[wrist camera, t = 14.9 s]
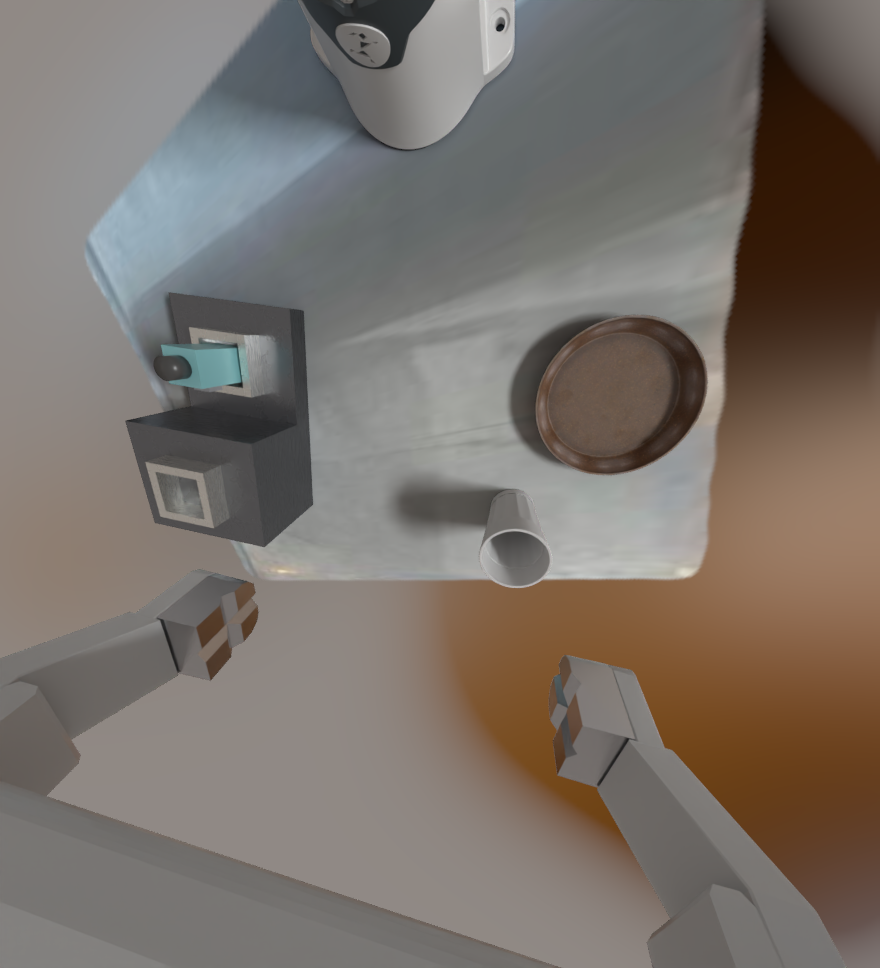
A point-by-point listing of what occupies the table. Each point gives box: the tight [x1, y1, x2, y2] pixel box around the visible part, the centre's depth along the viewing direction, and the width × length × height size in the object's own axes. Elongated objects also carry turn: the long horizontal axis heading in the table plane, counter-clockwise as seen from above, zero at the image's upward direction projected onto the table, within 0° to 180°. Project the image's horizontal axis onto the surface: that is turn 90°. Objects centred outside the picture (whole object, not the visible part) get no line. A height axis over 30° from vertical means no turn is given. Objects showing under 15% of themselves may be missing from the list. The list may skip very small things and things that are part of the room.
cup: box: [479, 489, 552, 588], centre depth 42 cm, size 8×8×12 cm
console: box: [126, 293, 313, 547], centre depth 42 cm, size 28×16×14 cm, turn 173°
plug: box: [154, 343, 242, 392], centre depth 38 cm, size 5×4×10 cm
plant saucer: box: [535, 315, 708, 475], centre depth 38 cm, size 18×18×3 cm
